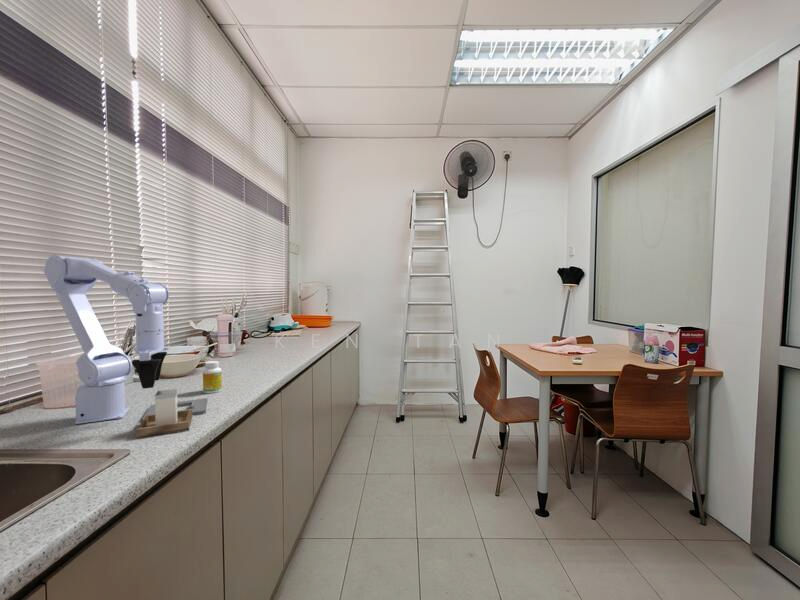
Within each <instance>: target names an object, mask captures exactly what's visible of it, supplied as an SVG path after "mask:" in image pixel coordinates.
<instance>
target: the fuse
mask: <svg viewBox="0 0 800 600" xmlns="http://www.w3.org/2000/svg"><path fill="white" fill-rule="evenodd" d="M177 402H178V389H177V388H174V389H165V390H164V389H163V390H157V391H156V394H155V395H154V405H155V420H156V426H158V425H165V424H171V423H177V421H178V412H177V411H178V407H177Z"/></svg>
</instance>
